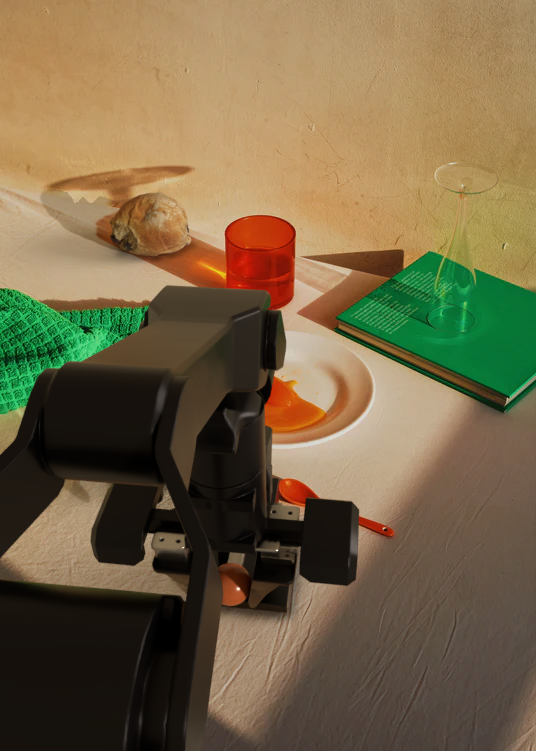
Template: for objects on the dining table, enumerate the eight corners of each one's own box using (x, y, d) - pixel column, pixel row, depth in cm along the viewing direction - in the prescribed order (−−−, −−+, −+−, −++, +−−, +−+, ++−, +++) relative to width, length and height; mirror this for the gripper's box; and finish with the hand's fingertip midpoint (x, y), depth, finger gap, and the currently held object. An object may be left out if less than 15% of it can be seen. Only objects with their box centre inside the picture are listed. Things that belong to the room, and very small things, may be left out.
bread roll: (181, 281, 119) (208, 229, 115) (106, 255, 113) (130, 199, 109) (172, 246, 129) (196, 197, 124) (101, 221, 123) (124, 168, 118)
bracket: (286, 613, 65) (287, 543, 59) (197, 604, 65) (189, 534, 60) (297, 526, 73) (298, 457, 67) (217, 519, 73) (212, 450, 68)
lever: (248, 616, 56) (248, 586, 54) (207, 612, 56) (205, 582, 55) (267, 513, 66) (268, 485, 65) (232, 510, 67) (232, 482, 65)
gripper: (366, 391, 54) (353, 532, 64) (119, 374, 56) (143, 514, 65) (363, 503, 45) (349, 647, 55) (71, 479, 47) (106, 623, 57)
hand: (232, 600), depth 58 cm, fingers closed on lever, 3 cm apart
